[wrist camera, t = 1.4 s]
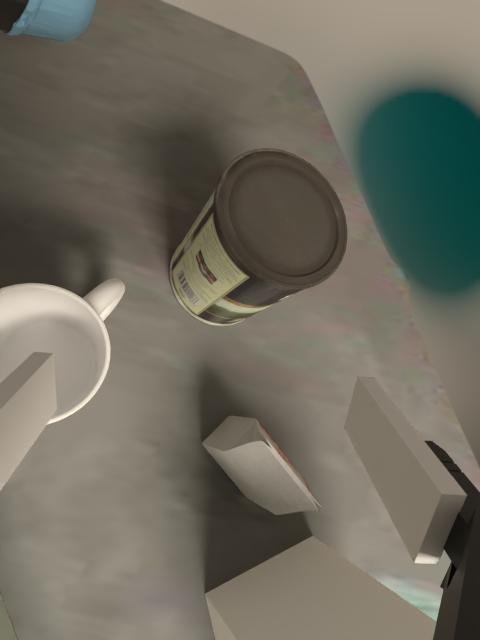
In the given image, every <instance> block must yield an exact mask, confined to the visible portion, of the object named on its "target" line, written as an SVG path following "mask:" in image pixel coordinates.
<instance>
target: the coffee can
mask: <svg viewBox="0 0 480 640" xmlns="http://www.w3.org/2000/svg"><path fill="white" fill-rule="evenodd" d="M346 245H347V224H346V218H345V214H344V211H343V208H342V205H341V203H340V200H339V198H338V196H337V194H336V192H335V191H334V189H333V188H332V186H331V185H330V183H329V182H328V181H327V179H326V178H325V177H324V176H323V175H322V174H321V173H320V172H319V171H318V170H317V169H316V168H315V167H313V166H312V165H311V164H310V163H308V162H307V161H305V160H304V159H302V158H300V157H298V156H296V155H294V154H292V153H289V152H286V151H283V150H279V149H271V148H262V149H255V150H251V151H248V152H245V153H243V154H242V155H240V156H238V157H237V158H235V159H234V160H233V161H232V162H231V163H230V164H229V165H228V166H227V167H226V169H225V170H224V172H223V173H222V175H221V177H220V179H219V181H218V183H217V187H216V189H215V190H214V192H213V194H212V195H211V197H210V198H209V200H208V201H207V203H206V205H205V206H204V208H203V209H202V211H201V212H200V214H199V216H198V217H197V219H196V220H195V222H194V223H193V225H192V227H191V228H190V230H189V232H188V233H187V235H186V236H185V238H184V240H183V241H182V243H181V244H180V245H179V246H178V247H177V249H176V250H175V252H174V254H173V257H172V260H171V263H170V284H171V286H172V289H173V292H174V294H175V296H176V298H177V300H178V302H179V303H180V304H181V306H182V307H183V308H184V309H185V310H186V311H187V312H188V313H189V314H190V315H192V316H193V317H194V318H196V319H198V320H200V321H202V322H204V323H207V324H210V325H216V326H230V325H234V324H237V323H239V322H241V321H243V320H245V319H246V318H248V317H250V316H252V315H253V314H255V313H257V312H259V311H261V310H263V309H265V308H267V307H269V306H271V305H273V304H275V303H277V302H279V301H281V300H283V299H285V298H287V297H289V296H291V295H293V294H295V293H297V292H299V291H301V290H303V289H306V288H310V287H313V286H315V285H318V284H320V283H322V282H323V281H325V280H326V279H328V278H329V277H330V276H331V275H332V274H333V273H334V272H335V270H336V269H337V268H338V266H339V265H340V263H341V261H342V259H343V256H344V253H345V250H346Z"/></svg>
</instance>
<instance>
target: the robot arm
mask: <svg viewBox="0 0 480 640" xmlns="http://www.w3.org/2000/svg"><path fill="white" fill-rule="evenodd" d="M95 5H96V0H0V30H2V31H3V32H4V33H5V34H7V35H10V36H12V35H16V36H18V35H20V34H26V35H31V36H36V37H41V38H46V39H52V40H57V41H70V40H73V39H75V38H76V37H79V36H80V35H82V34H83V32H84V31H85V30H86V29H87V27H88V25H89V23H90V21H91V18H92V15H93V12H94V8H95ZM56 410H57V400H56V385H55V369H54V354H53V353H46V352H33V353H32V354H31V355H30V356H29V357H28V358H27V359H26V360H25V361H24V362H23V363H21V364H20V365H19V366H18V367H17V368H16V369H15V370H14V371H13V372H12V373H11V374H10V375H9V376H8V377H7V378H6V379H4V380H3V381H2V382H1V383H0V491H1V489H2V488H3V486H4V485H5V484H6V482H7V481H8V479H9V478H10V476H11V475H12V474H13V472H14V471H15V469H16V468H17V466H18V465H19V463H20V462H21V461H22V459H23V458H24V456H25V455H26V453H27V452H28V451H29V449H30V448H31V446H32V445H33V443H34V442H35V440H36V439H37V438H38V436H39V435H40V433H41V432H42V430H43V429H44V428H45V426H46V425H47V423H48V422H49V420H50V419H51V417H52V416H53V415H54V413H55V412H56ZM344 428H345V430H346V431H347V433H348V435H349V437H350V439H351V441H352V443H353V445H354V447H355V449H356V451H357V453H358V455H359V457H360V459H361V461H362V463H363V464H364V466H365V468H366V470H367V472H368V474H369V476H370V478H371V480H372V482H373V484H374V486H375V488H376V490H377V492H378V494H379V495H380V497H381V499H382V501H383V503H384V505H385V507H386V509H387V511H388V513H389V515H390V517H391V519H392V521H393V523H394V525H395V527H396V528H397V530H398V532H399V534H400V536H401V538H402V540H403V542H404V544H405V546H406V548H407V550H408V552H409V554H410V556H411V558H412V560H413V561H414V563H433V564H438V562H439V560H440V557H441V555H442V553H443V550H445V551H446V553H447V555H448V556H449V558H450V559H451V561H452V562H451V564H450V566H449V568H448V571H447V573H446V575H445V577H444V579H443V582H442V584H441V586H440V587H441V588H443V589H444V590H443V595H442V599H441V604H440V609H439V613H438V618H437V623H436V627H435V632H434V636H433V640H480V492H479V491H478V490H477V489H476V487H475V486H474V485H473V484H472V483H471V481H470V480H469V479H468V478H467V477H466V476H465V474H464V473H462V472H461V470H460V468H459V467H458V466H457V465H456V464H454V461H453V460H452V459H451V458H450V456H449V455H448V454H447V453H446V452H445V451H444V450H443V449H442V448H440V447H439V446H438V445H436V444H435V443H434V442H432V441H424V440H423V439H422V438H421V436H420V435H419V434H418V433H417V431H416V430H415V429H414V428H413V426H412V425H411V424H410V422H409V421H408V420H407V419H406V417H405V416H404V415H403V414H402V412H401V411H400V410H399V409H398V407H397V406H396V405H395V404H394V402H393V401H392V400H391V399H390V397H389V396H388V395H387V394H386V392H385V391H384V390H383V388H382V387H381V386H380V385H379V383H378V382H377V381H376V380H375V378H372V377H359V376H358V377H357V381H356V384H355V388H354V392H353V396H352V400H351V404H350V408H349V412H348V415H347V419H346V423H345V427H344Z"/></svg>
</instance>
